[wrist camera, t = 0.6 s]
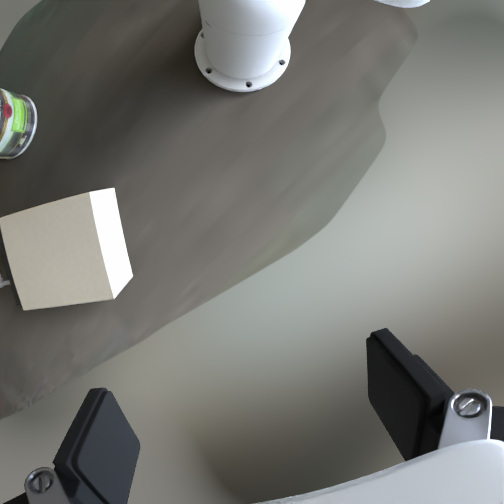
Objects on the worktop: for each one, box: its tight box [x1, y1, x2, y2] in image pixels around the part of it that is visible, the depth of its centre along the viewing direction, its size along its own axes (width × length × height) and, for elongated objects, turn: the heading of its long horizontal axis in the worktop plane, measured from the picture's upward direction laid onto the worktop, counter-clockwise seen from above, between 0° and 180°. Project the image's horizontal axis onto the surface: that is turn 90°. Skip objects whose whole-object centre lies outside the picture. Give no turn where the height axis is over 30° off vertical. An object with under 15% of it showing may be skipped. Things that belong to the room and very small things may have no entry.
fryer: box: [0, 188, 133, 310], centre depth 37 cm, size 15×13×9 cm
